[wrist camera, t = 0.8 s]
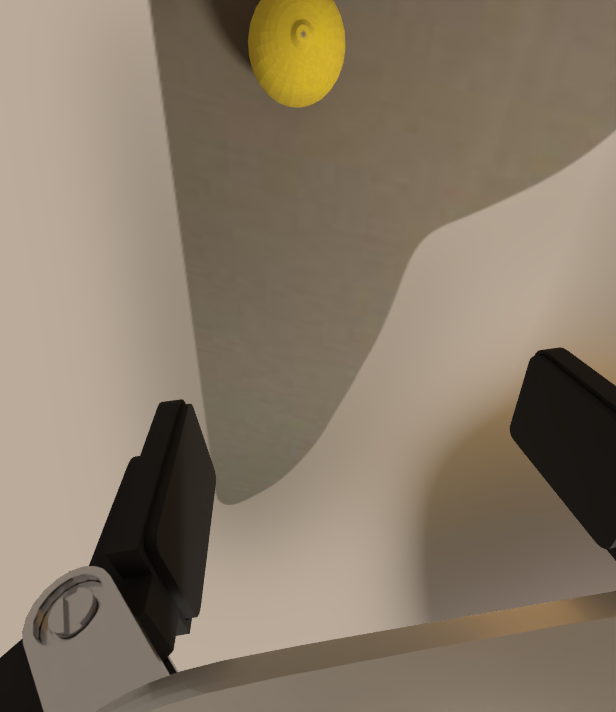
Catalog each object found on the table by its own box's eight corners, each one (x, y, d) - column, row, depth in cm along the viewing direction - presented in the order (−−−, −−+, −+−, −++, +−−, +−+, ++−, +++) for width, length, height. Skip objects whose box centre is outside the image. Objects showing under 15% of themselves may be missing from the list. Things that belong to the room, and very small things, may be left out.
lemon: (243, 96, 25) (237, 83, 18) (258, -10, 22) (257, -71, 16) (320, 121, 26) (340, 116, 20) (342, 23, 24) (375, -21, 17)
